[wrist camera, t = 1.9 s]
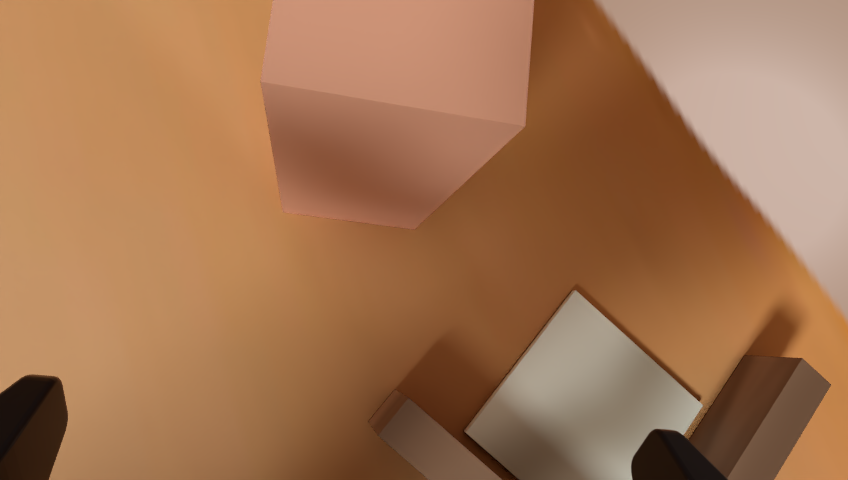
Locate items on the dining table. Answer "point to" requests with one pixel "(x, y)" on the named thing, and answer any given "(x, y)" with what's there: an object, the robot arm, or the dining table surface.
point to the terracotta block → (391, 101)
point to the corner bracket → (608, 411)
